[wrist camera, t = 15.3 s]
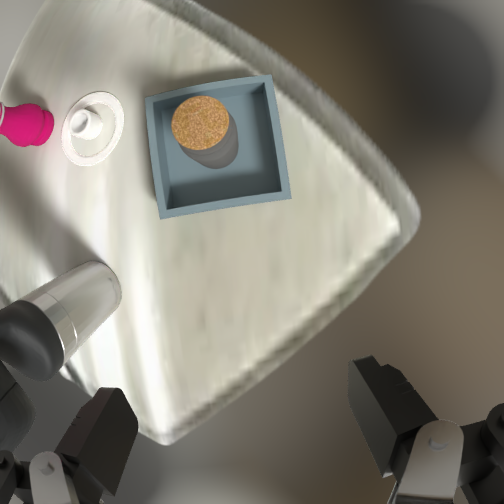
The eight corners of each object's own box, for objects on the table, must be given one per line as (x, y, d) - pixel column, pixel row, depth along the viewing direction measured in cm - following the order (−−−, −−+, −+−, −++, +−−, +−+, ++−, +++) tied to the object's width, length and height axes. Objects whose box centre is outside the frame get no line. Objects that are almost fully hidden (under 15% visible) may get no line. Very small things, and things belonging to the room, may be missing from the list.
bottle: (199, 173, 35) (170, 164, 21) (191, 132, 34) (159, 99, 19) (242, 164, 35) (243, 147, 21) (234, 122, 34) (229, 82, 19)
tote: (170, 215, 37) (160, 219, 33) (156, 107, 34) (144, 97, 29) (285, 197, 37) (291, 198, 32) (268, 88, 34) (271, 74, 29)
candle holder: (108, 175, 36) (94, 174, 32) (54, 155, 35) (39, 154, 31) (138, 100, 34) (127, 92, 30) (81, 88, 33) (67, 81, 28)
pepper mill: (45, 101, 32) (-34, 76, 13) (62, 121, 33) (-24, 98, 14) (23, 134, 33) (-56, 124, 14) (39, 156, 34) (-48, 152, 15)
